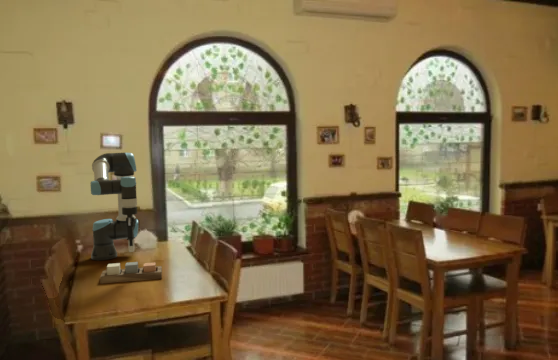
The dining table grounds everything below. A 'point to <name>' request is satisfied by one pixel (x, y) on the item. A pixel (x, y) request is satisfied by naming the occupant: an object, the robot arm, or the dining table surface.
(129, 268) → the slate key
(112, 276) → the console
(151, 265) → the terracotta key
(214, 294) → the dining table surface
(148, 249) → the dining table surface
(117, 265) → the ivory key
